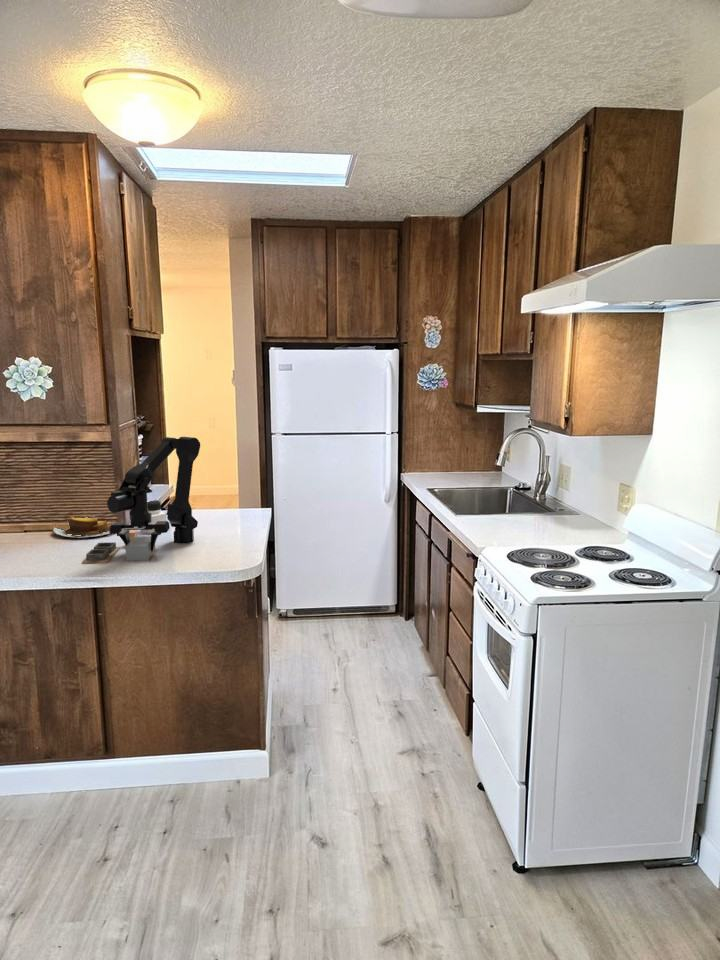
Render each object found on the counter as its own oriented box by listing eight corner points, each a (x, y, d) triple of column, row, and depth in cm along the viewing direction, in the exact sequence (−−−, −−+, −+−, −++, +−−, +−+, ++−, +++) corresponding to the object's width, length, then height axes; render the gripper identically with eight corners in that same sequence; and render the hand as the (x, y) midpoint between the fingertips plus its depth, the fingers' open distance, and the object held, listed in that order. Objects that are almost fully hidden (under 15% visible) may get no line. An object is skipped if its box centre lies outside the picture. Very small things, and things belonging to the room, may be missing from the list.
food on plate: (133, 524, 259) (132, 509, 257) (108, 541, 234) (107, 524, 233) (71, 523, 259) (70, 507, 258) (40, 540, 235) (39, 523, 233)
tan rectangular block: (137, 546, 227) (136, 530, 226) (135, 548, 224) (134, 532, 223) (128, 546, 227) (127, 530, 226) (126, 549, 224) (125, 532, 223)
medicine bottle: (167, 530, 250) (165, 500, 247) (152, 534, 244) (151, 503, 241) (155, 527, 253) (153, 498, 251) (140, 531, 247) (139, 501, 245)
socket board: (120, 551, 221) (119, 541, 221) (107, 565, 206) (106, 555, 205) (96, 551, 221) (96, 541, 220) (82, 565, 205) (81, 555, 204)
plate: (158, 551, 222) (158, 541, 221) (150, 562, 209) (150, 552, 208) (132, 551, 221) (131, 541, 220) (123, 563, 208) (122, 552, 207)
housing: (155, 549, 221) (154, 536, 220) (148, 560, 209) (147, 545, 208) (135, 550, 220) (134, 536, 219) (126, 560, 208) (125, 546, 207)
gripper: (171, 501, 220) (173, 544, 223) (116, 502, 218) (119, 545, 221) (165, 508, 209) (167, 553, 212) (107, 509, 207) (110, 554, 210)
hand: (141, 551), depth 214 cm, fingers closed on housing, 7 cm apart
